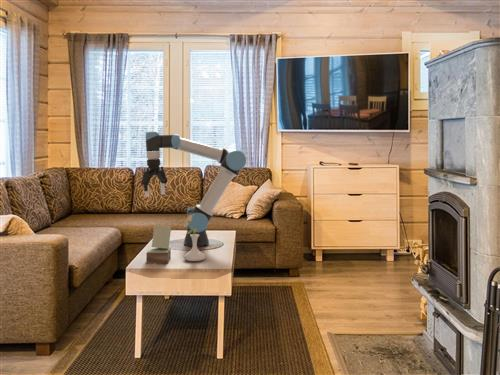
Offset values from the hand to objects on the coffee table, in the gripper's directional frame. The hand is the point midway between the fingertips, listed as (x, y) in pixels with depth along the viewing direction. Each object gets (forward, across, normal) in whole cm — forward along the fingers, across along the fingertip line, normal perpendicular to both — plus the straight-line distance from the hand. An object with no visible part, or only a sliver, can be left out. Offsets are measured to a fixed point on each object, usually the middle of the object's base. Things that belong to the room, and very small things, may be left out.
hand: (155, 195), depth 288 cm
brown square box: (+33, +21, +18) cm, 43 cm away
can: (+26, +20, +18) cm, 37 cm away
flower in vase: (+34, +10, +33) cm, 48 cm away
